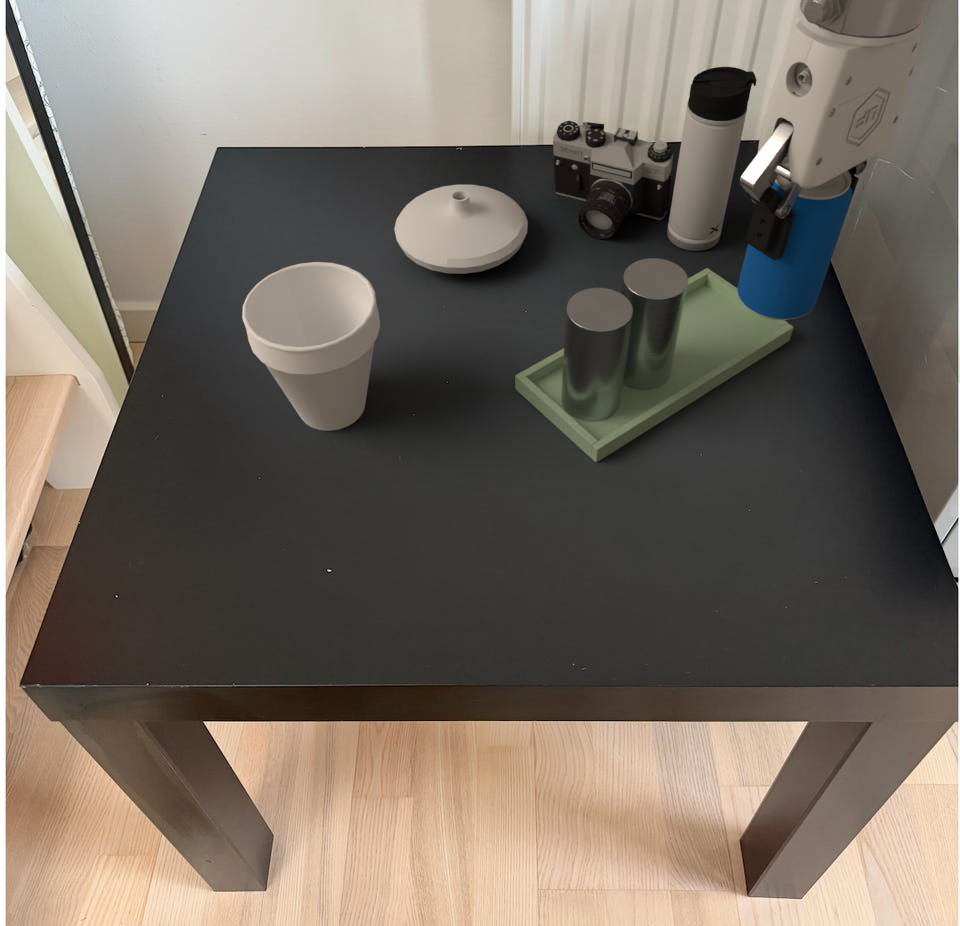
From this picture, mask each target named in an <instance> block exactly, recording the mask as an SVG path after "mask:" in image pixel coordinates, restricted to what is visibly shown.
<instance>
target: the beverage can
mask: <svg viewBox="0 0 960 926" xmlns="http://www.w3.org/2000/svg"><path fill="white" fill-rule="evenodd" d="M782 163H783V164H785V165H787V166H789V158H788V157H787V156H785V158H784V160H783V162H782ZM789 182H790V181H789V180H787V179H785V178H784V177H782V176H780V175H778V176H777V178H776V180H775V182H774V184H773V186H772V188H773V189H775V190H776V191H777V192H778V193H779V194H780V195H781V196H783V194H784V192H785V190H786V188H787V186H788V184H789ZM850 184H851V175H850V173H849V172H848V170H847V171H845V172H843V173H842V174H840V175H838V176H836V177H834V178H833V179H831V180H829V181H827V182H825V183H823V184H821V185H819V186H816V187H813V188H809V189H804V188H802V190H801V192H800V194H799V195H798V197H797V199H796V201H795V203H794V205H793V207H792V209H791V210H790V212H791V213H792V214H794V215H795V216H794V220H793V223H792V226H791V230H790V233H789V237H788V240H787V244H786V247H785V250H784V254H783V257H781V258H780V259H778V260H773V259H771V258H770V257H768V256H766V255H765V254H763V253H762V252H760V251H759V250H757V249H755V248H754V247H752V246H751V245H749V244H748V243H747V246H746V250H745V255H744V259H743V263H742V267H741V271H740V275H739V280H738V283H737V287H736V288H737V292H738V296H739V298H740V300H741V301H742V302H743V304H744V305H745V306H746V307H748V308H749V309H750V310H752V311H753V312H754V313H756V314H758V315H759V316H762V317H764V318H767V319H772V320H785V321H787V320H794V319H799V318H801V317H803V316H806V315H808V314H809V313H811V312H812V310H813V309H814V308H815V306H816V304H817V302H818V299H819V296H820V293H821V290H822V288H823V285H824V281H825V279H826V275H827V273H828V270H829V267H830V264H831V261H832V258H833V255H834V252H835V249H836V247H837V243H838V240H839V238H840V235H841V232H842V229H843V227H844V224H845V220H846V217H847V214H848V212H849V209H850V205H851V203H852V200H853V197H852V189H851V186H850Z"/></svg>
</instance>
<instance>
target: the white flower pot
mask: <svg viewBox="0 0 960 926" xmlns="http://www.w3.org/2000/svg"><path fill="white" fill-rule="evenodd" d="M376 296H377V294H376V291H375V288H374V287H373V285H372V283H371V281H370V280H369V279H367V278H366V276H364V275H363V274H362V273H361V272H359V271H358V270H356V269H353V268H351V267H349V266H347V265H343V264H340V263H334V262H327V261H325V262H323V261H312V262H303V263H297V264H293V265H289V266H286V267H282V268H281V269H279V270H277V271H275V272H272V273H270V274H269V275H267V276H265V277H264V278H263V279H261V280H260V281H259V282H258V283H256V284H255V285H254V287H252V289H251V290H250V291H249V293H248V294H247V295H246V298H245V300H244V302H243V304H242V316H241V317H242V319H241V320H242V322H243V324H244V327H245V330H246V335H247V340H248V343H249V346H250V349H251V351H252V353H253V354H254V355H255V356H256V357H257V359H258V360H259V361H260V362H261V363H263V364H264V365H265V366H266V368H267V370H268V371H269V372H270V374H271V376H272V377H273V379H274V380H275V381H276V383H277V385H278V386H279V387H280V389H281V391H282V392H283V394H284V395H285V397H286V398H287V400H288V401H289V402H290V404H291V406H292V407H293V409H294V410H295V412H296V413H297V415H298V416H299V418H300V419H301V420H302V421H303V422H304V424H306V426H308V427H309V428H312V429H314V430H318V431H325V432H326V431H327V432H331V431H332V432H333V431H338V430H342V429H344V428H347V427H349V426H351V425H352V424H355V423H356V422H357V421H358V419H360V417H362V414H363V413H364V410H365V407H366V402H367V394H368V389H369V382H370V374H371V368H372V360H373V356H374V355H373V354H374V349H375V348H374V347H375V341H376V340H377V339H378V336H379V332H380V328H381V319H380V313H379V308H378V305H377V297H376Z"/></svg>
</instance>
